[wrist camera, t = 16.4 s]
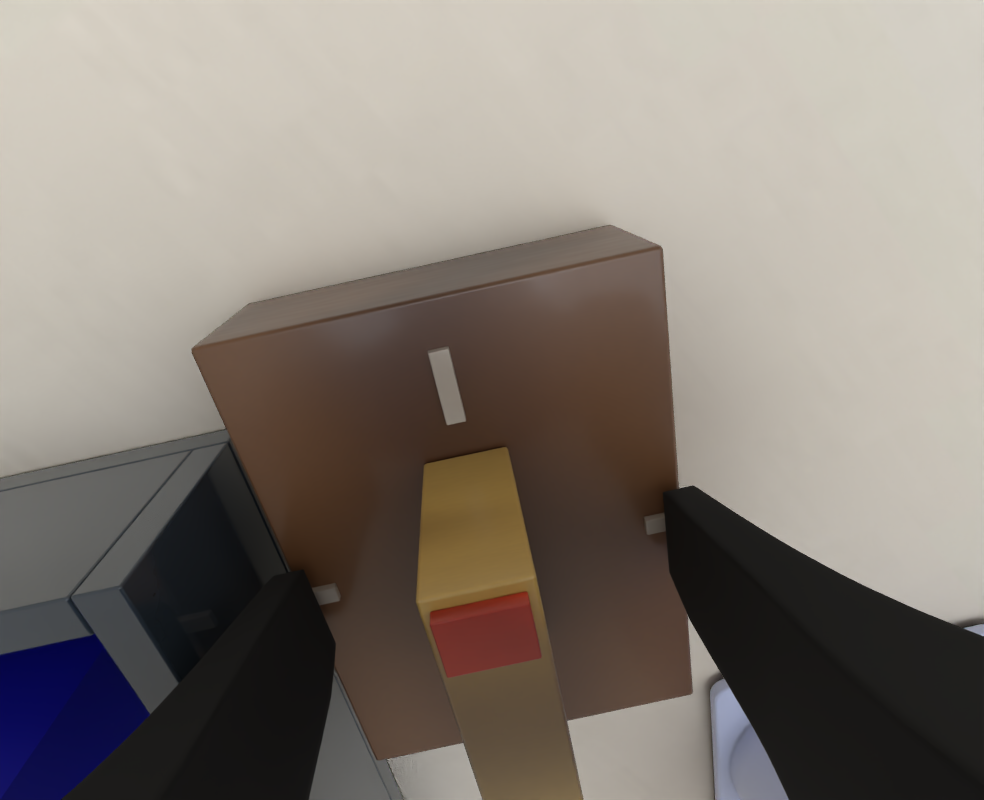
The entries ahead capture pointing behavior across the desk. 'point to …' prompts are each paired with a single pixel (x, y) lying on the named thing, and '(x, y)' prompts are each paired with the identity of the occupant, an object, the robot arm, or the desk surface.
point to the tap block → (462, 431)
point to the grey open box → (156, 576)
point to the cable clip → (60, 717)
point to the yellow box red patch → (492, 630)
